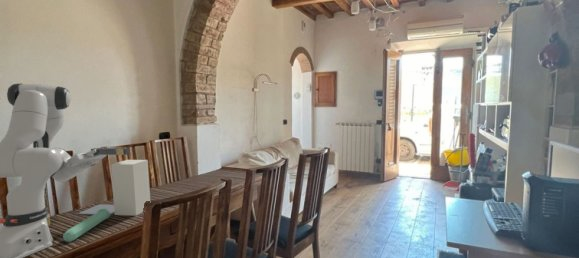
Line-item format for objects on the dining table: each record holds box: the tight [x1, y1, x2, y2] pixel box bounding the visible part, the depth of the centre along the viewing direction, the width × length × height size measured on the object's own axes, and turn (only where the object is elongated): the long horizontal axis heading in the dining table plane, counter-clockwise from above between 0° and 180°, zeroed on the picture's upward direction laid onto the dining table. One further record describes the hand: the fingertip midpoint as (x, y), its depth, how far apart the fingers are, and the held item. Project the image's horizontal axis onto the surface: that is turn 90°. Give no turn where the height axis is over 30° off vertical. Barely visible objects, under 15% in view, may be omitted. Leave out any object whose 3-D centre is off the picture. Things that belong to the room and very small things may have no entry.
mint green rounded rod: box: [62, 209, 110, 242], centre depth 133 cm, size 6×6×25 cm
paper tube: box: [44, 182, 51, 227], centre depth 137 cm, size 7×7×25 cm
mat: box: [77, 203, 115, 217], centre depth 159 cm, size 14×18×1 cm
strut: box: [90, 147, 131, 156], centre depth 156 cm, size 4×20×3 cm, turn 82°
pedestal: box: [110, 159, 151, 217], centre depth 155 cm, size 12×12×26 cm
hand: (99, 149), depth 157 cm, fingers closed on strut, 3 cm apart
